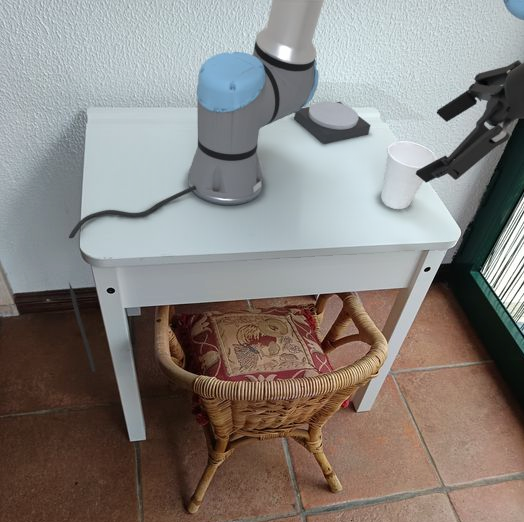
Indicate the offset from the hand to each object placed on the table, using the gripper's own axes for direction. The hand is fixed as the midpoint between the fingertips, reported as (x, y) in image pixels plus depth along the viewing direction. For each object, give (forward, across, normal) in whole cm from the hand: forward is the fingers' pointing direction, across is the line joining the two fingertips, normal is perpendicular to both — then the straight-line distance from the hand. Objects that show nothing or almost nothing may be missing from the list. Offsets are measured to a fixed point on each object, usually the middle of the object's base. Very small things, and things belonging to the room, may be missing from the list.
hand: (431, 145), depth 88 cm
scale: (+36, +21, +6) cm, 42 cm away
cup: (+16, -1, -7) cm, 18 cm away
